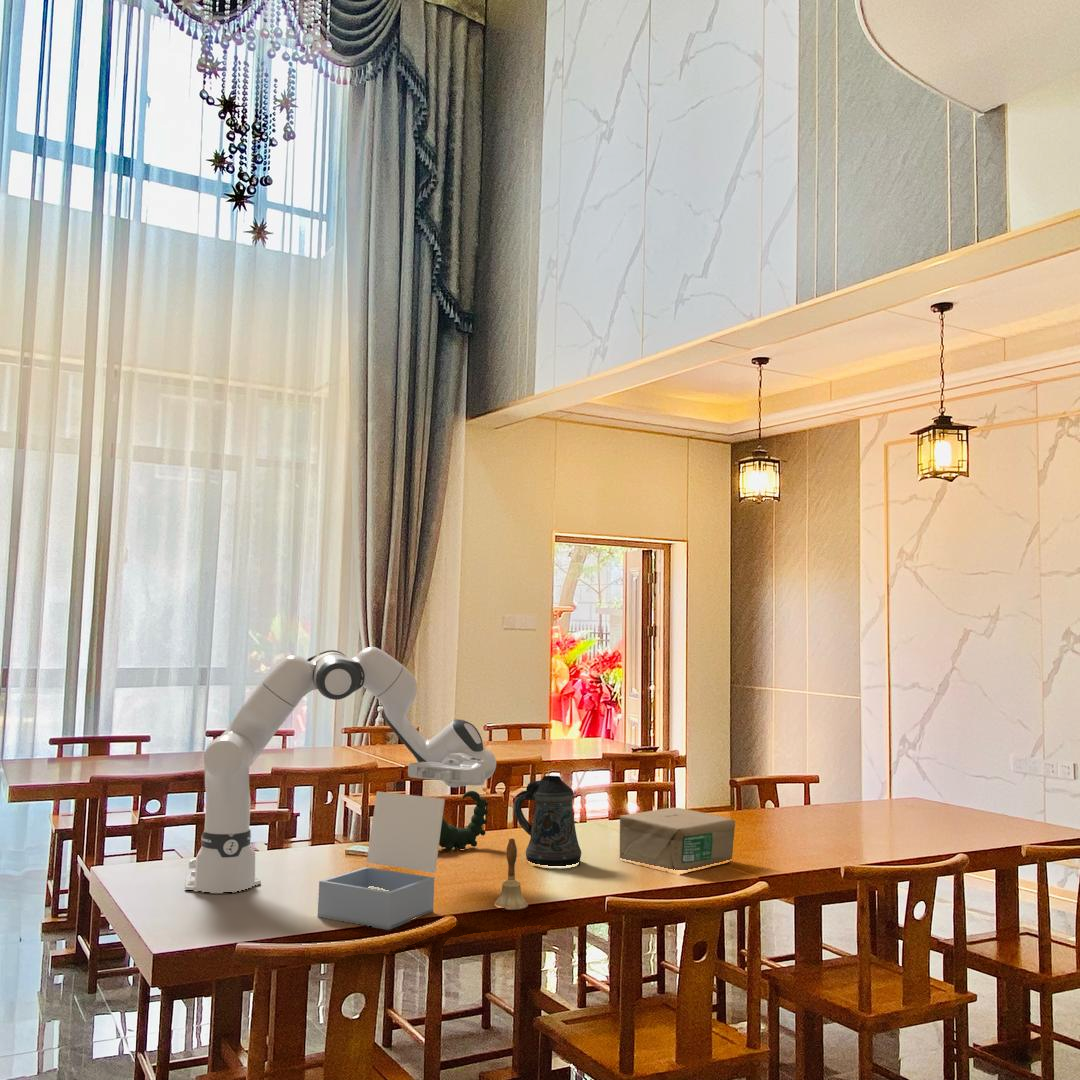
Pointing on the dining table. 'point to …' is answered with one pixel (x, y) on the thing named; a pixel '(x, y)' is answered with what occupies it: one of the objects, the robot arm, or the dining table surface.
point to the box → (376, 897)
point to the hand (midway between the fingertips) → (428, 775)
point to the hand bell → (511, 883)
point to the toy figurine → (465, 836)
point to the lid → (406, 831)
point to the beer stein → (549, 823)
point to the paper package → (676, 838)
